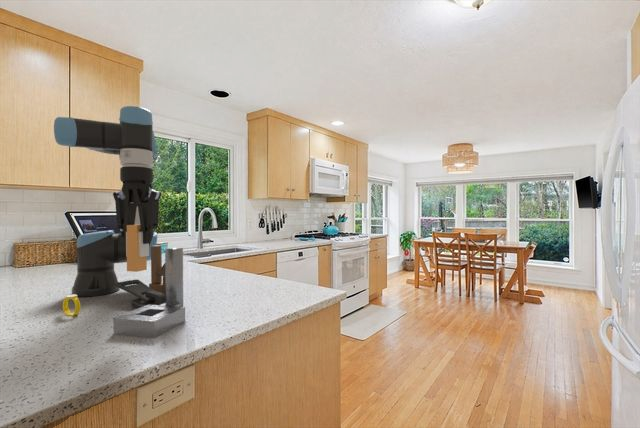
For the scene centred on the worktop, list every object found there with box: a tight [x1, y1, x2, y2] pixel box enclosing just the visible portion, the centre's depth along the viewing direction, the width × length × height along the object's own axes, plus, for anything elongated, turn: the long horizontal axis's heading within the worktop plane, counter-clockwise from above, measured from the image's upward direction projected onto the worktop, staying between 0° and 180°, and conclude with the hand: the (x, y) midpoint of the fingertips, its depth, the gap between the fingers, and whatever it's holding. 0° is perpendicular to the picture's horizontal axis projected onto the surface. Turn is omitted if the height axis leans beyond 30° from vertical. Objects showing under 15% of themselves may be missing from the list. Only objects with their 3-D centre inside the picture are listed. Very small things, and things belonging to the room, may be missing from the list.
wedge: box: [126, 225, 148, 273], centre depth 84 cm, size 3×3×12 cm
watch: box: [62, 294, 82, 317], centre depth 96 cm, size 6×3×6 cm, turn 70°
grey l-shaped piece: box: [112, 247, 186, 339], centre depth 88 cm, size 18×12×20 cm
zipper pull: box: [115, 279, 166, 310], centre depth 105 cm, size 9×7×25 cm
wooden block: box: [148, 244, 165, 294], centre depth 120 cm, size 4×11×18 cm, turn 67°
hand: (137, 255), depth 84 cm, fingers closed on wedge, 3 cm apart
